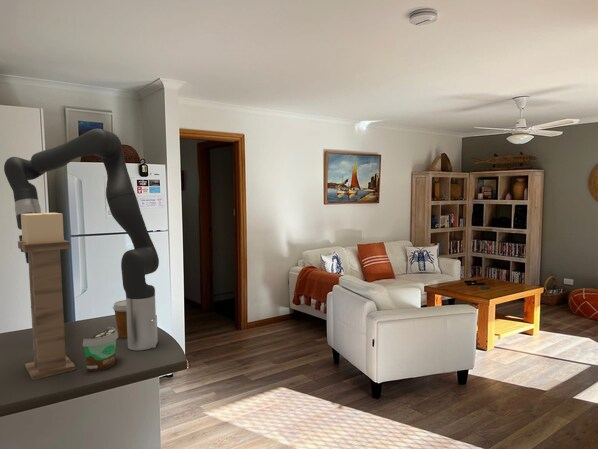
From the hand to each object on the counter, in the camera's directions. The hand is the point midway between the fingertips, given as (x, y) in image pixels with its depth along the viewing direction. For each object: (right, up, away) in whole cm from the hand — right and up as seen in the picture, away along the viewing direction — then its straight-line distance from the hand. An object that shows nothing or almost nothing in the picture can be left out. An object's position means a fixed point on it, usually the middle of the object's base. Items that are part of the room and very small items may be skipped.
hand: (36, 260), depth 149 cm
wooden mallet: (+10, +8, -16) cm, 20 cm away
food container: (+31, -31, -16) cm, 46 cm away
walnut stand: (+15, -31, -18) cm, 38 cm away
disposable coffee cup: (+27, -28, +12) cm, 41 cm away
